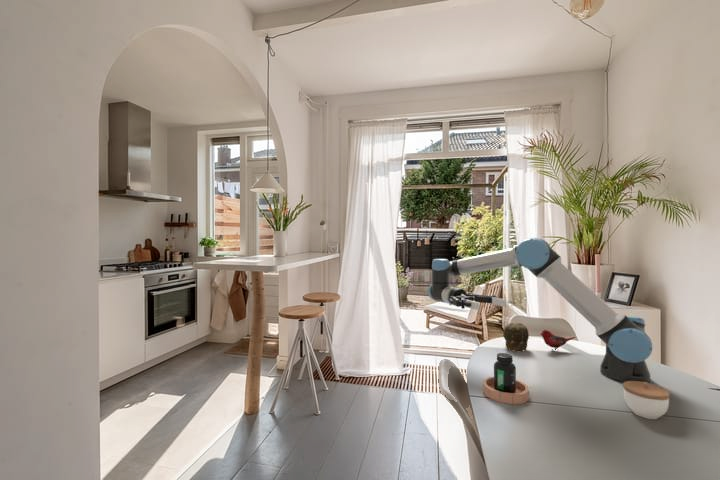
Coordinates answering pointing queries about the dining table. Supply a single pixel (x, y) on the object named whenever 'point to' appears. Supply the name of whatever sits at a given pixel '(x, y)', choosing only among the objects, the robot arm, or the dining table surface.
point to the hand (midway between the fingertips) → (492, 304)
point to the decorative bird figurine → (554, 339)
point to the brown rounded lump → (516, 336)
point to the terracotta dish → (510, 398)
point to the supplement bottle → (504, 373)
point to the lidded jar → (646, 399)
